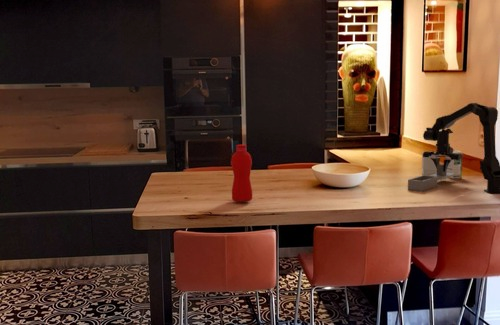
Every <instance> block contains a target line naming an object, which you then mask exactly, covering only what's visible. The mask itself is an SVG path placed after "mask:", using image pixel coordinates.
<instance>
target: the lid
mask: <svg viewBox="0 0 500 325" xmlns="http://www.w3.org/2000/svg"><path fill="white" fill-rule="evenodd" d="M430 176H435V177H437V180H440V181H442V180H446V179H450V178H449V177H452V176H455V174H453V173H447V170H446V172H444V163H440V164H438V165H437V174H434V175H430Z"/></svg>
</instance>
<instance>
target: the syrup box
mask: <svg viewBox="0 0 500 325" xmlns="http://www.w3.org/2000/svg"><path fill="white" fill-rule="evenodd" d="M453 153H461V154H462V155H463V151H461V150H453ZM462 172H463V158H462V159H459V160H451V162H450V163H449V165H448V167H447V173H453V174H455V176H452V177H449V178H448V179H451V178H452V179H454V178H455V179H462V178H463V176H462V174H463V173H462Z"/></svg>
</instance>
